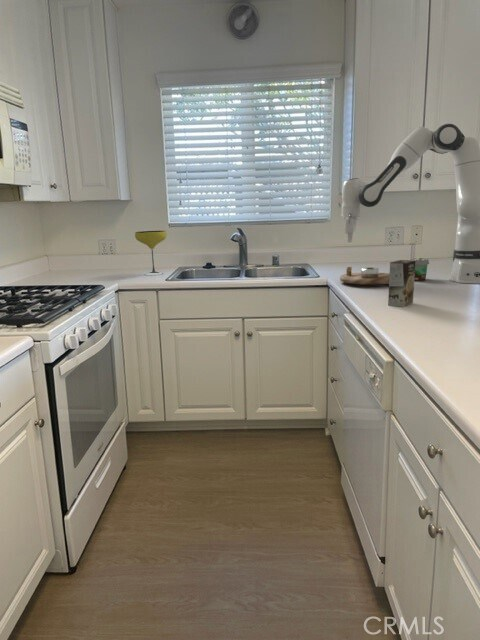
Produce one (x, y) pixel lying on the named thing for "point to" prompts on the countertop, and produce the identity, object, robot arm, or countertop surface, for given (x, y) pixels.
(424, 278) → the food container
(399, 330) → the countertop surface
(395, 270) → the coffee box
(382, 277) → the turntable
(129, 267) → the countertop surface
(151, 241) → the cocktail glass
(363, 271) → the cover
